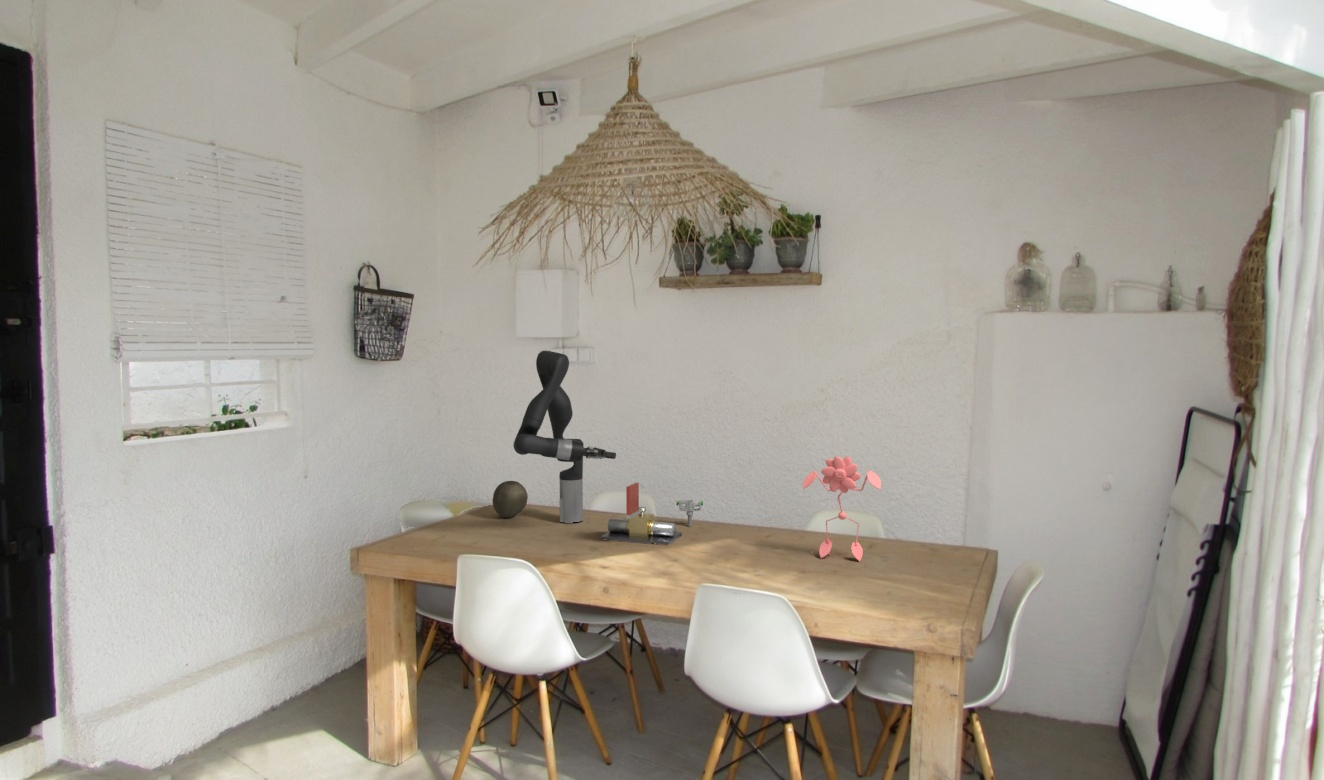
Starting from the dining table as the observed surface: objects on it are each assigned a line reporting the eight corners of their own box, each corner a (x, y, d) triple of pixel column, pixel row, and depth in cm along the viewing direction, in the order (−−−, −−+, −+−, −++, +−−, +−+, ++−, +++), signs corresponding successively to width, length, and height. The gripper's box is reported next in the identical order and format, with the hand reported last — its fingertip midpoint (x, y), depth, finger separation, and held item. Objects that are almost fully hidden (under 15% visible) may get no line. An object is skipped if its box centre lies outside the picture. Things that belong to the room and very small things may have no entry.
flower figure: (805, 551, 284) (805, 450, 281) (882, 559, 275) (883, 454, 272) (795, 564, 270) (795, 458, 267) (876, 572, 261) (877, 462, 258)
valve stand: (600, 539, 303) (600, 513, 302) (617, 530, 318) (617, 505, 317) (668, 545, 294) (668, 518, 294) (681, 535, 309) (681, 509, 309)
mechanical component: (702, 527, 322) (702, 501, 322) (676, 527, 322) (676, 501, 322) (702, 525, 325) (702, 500, 325) (676, 525, 325) (676, 500, 325)
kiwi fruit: (492, 522, 332) (492, 484, 331) (492, 514, 346) (492, 479, 345) (528, 520, 335) (528, 483, 334) (527, 513, 349) (526, 477, 348)
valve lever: (623, 518, 293) (623, 486, 292) (639, 509, 307) (638, 479, 307) (632, 518, 292) (632, 487, 291) (647, 510, 306) (647, 480, 306)
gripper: (573, 437, 296) (620, 443, 301) (567, 442, 309) (612, 448, 313) (570, 458, 295) (618, 464, 299) (565, 462, 307) (610, 467, 311)
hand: (615, 455), depth 306 cm, fingers closed
